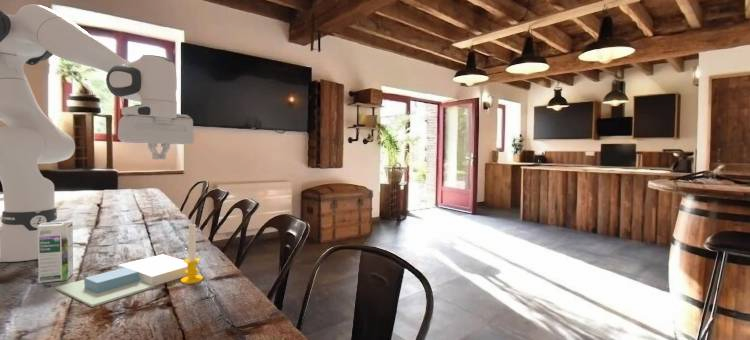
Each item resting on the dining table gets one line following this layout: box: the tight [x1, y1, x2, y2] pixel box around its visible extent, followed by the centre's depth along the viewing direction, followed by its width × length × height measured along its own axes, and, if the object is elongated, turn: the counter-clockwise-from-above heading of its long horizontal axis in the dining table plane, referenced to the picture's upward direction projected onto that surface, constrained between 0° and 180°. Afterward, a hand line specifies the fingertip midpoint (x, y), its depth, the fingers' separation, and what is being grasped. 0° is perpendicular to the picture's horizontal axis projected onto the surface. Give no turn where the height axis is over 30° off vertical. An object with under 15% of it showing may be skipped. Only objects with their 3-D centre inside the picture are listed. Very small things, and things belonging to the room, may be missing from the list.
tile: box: [83, 267, 139, 294], centre depth 87 cm, size 6×9×2 cm, turn 152°
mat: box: [54, 279, 155, 308], centre depth 86 cm, size 18×13×1 cm
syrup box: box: [37, 220, 74, 284], centre depth 91 cm, size 6×6×14 cm
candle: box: [180, 221, 204, 285], centre depth 93 cm, size 5×5×16 cm
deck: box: [117, 253, 188, 287], centre depth 97 cm, size 16×12×2 cm
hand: (159, 159), depth 103 cm, fingers closed
